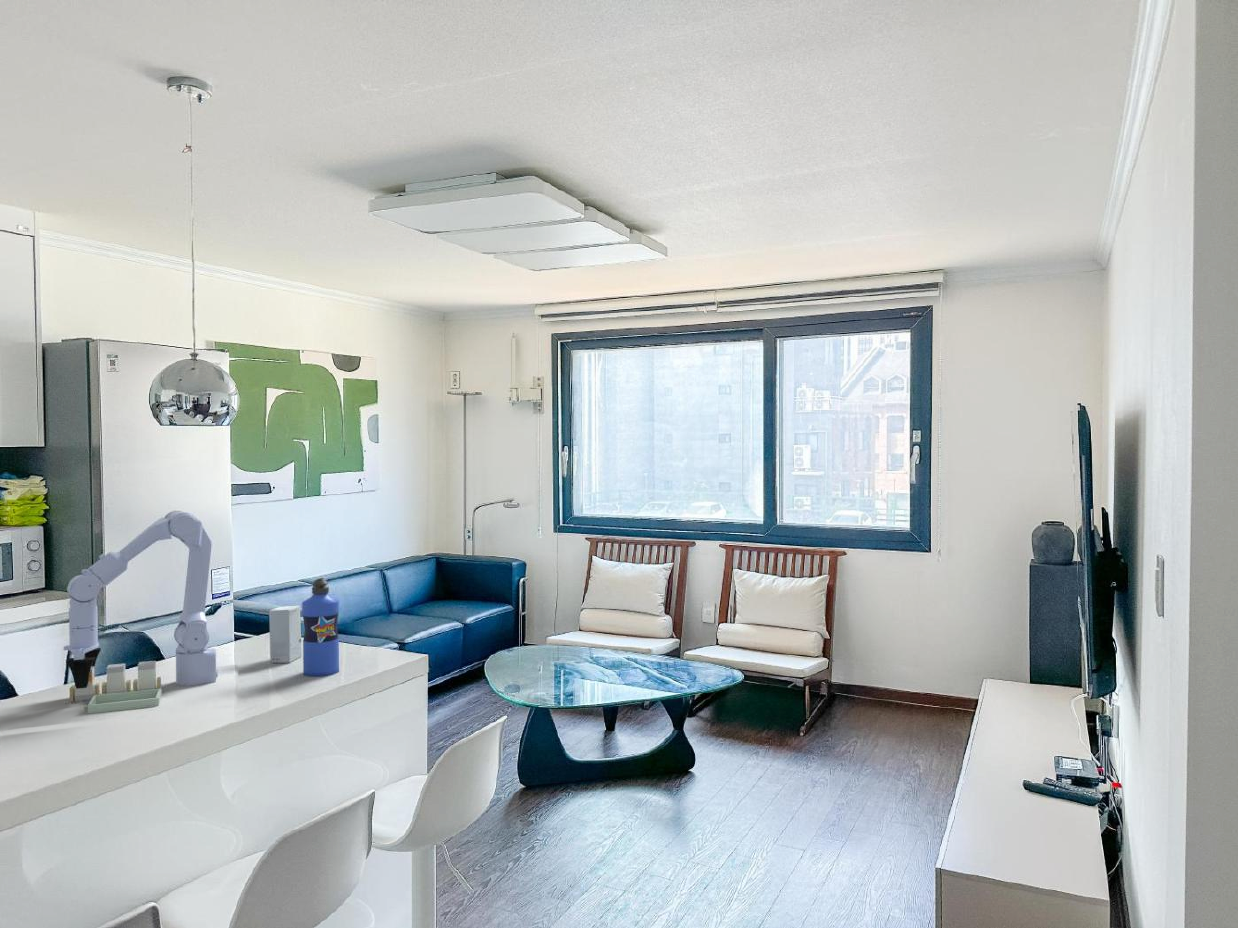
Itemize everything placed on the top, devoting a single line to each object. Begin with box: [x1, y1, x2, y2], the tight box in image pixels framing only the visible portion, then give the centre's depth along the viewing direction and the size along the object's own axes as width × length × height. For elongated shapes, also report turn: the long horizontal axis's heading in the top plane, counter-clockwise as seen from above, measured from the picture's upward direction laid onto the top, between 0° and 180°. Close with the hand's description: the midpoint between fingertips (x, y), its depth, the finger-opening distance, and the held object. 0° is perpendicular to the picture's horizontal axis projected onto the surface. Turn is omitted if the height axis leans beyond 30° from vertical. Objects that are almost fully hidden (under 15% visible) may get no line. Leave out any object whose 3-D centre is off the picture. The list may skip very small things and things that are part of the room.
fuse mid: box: [105, 663, 127, 694], centre depth 209 cm, size 4×4×7 cm
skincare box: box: [268, 605, 303, 664], centre depth 247 cm, size 8×6×15 cm
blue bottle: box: [301, 577, 340, 678], centre depth 233 cm, size 9×9×25 cm
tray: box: [87, 688, 163, 714], centre depth 201 cm, size 14×9×3 cm, turn 113°
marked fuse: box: [75, 666, 95, 701], centre depth 206 cm, size 4×4×7 cm
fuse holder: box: [64, 676, 165, 705], centre depth 209 cm, size 20×6×4 cm, turn 113°
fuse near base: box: [137, 660, 157, 691], centre depth 211 cm, size 4×4×7 cm
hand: (84, 683), depth 206 cm, fingers open, 7 cm apart
